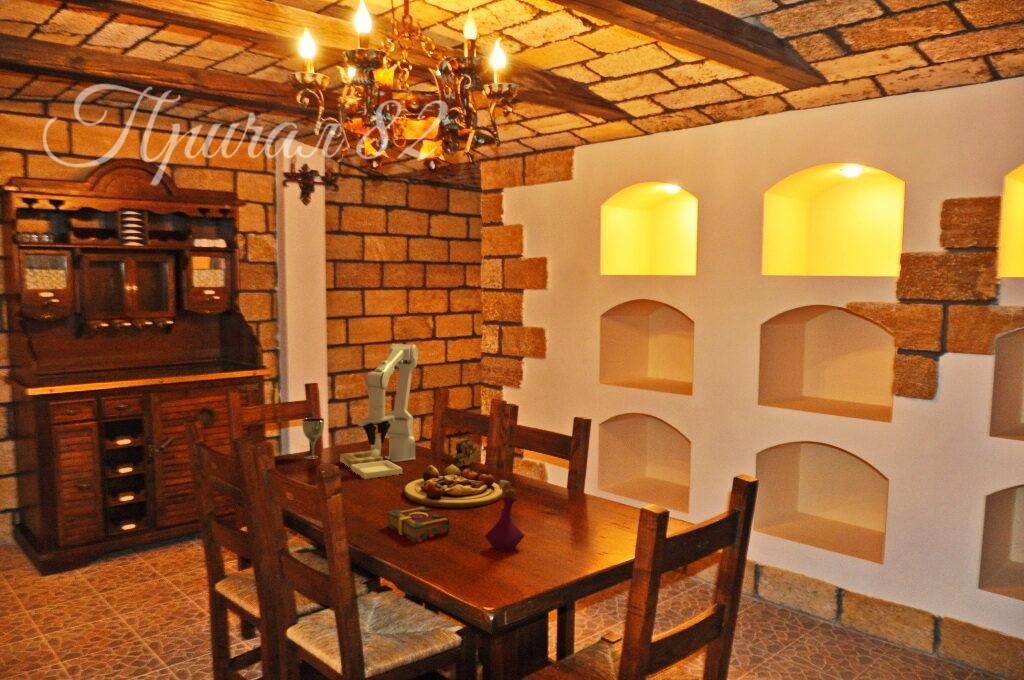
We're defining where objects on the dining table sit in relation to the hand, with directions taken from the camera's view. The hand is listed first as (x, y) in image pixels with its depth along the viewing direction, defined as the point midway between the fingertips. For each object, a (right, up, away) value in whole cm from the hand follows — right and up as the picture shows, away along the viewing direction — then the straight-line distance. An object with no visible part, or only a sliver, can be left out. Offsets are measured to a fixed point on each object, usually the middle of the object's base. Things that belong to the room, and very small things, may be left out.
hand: (376, 443), depth 259 cm
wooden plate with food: (+29, -14, -22) cm, 39 cm away
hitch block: (-8, -9, +12) cm, 17 cm away
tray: (0, -10, +1) cm, 10 cm away
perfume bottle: (+46, -18, -69) cm, 85 cm away
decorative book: (+22, -16, -58) cm, 64 cm away
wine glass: (-28, -9, +18) cm, 34 cm away
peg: (0, -4, 0) cm, 4 cm away
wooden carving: (+31, -10, +14) cm, 35 cm away
